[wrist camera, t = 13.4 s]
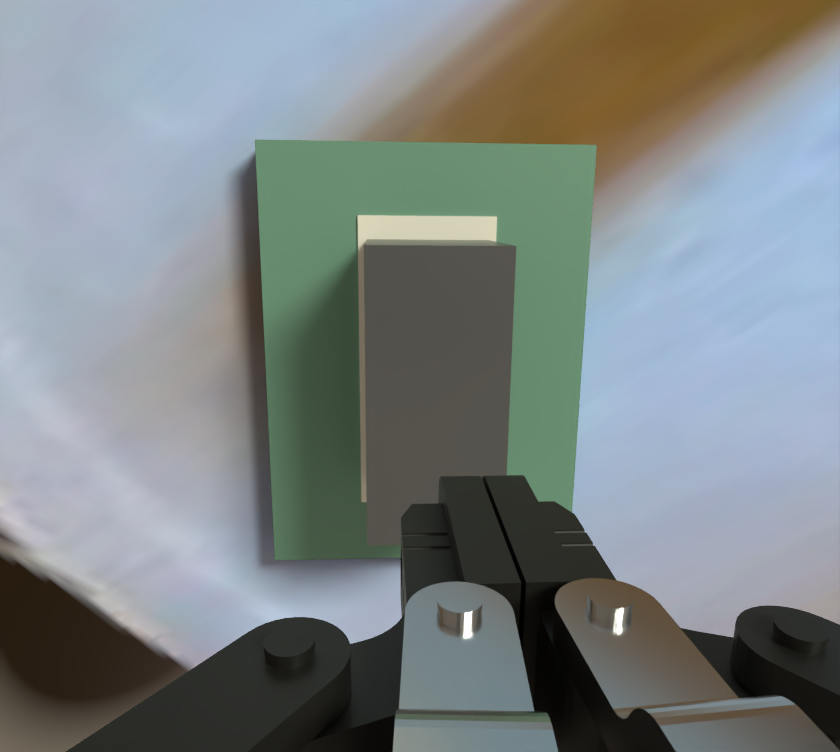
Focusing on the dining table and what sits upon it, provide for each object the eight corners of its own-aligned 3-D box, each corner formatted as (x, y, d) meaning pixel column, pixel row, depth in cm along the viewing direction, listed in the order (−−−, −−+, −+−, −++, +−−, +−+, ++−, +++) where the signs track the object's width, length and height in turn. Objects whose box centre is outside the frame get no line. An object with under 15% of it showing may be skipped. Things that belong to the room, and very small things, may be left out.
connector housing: (367, 239, 24) (363, 244, 19) (488, 240, 24) (516, 245, 19) (369, 483, 26) (366, 545, 21) (481, 482, 26) (504, 542, 21)
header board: (262, 144, 24) (232, 126, 19) (583, 149, 25) (632, 133, 20) (280, 542, 28) (258, 610, 23) (559, 536, 29) (595, 602, 24)
